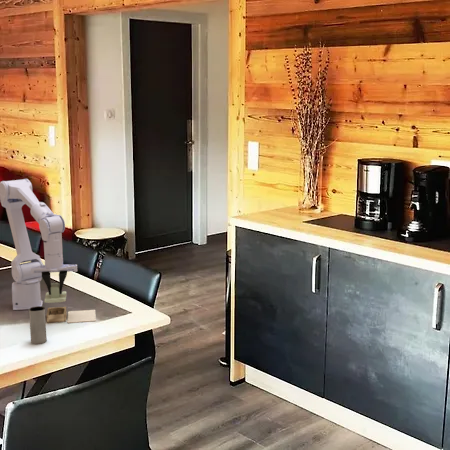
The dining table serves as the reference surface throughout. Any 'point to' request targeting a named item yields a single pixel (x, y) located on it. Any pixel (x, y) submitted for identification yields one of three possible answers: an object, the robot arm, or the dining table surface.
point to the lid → (55, 294)
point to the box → (56, 314)
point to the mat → (81, 316)
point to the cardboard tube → (37, 325)
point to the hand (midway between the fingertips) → (55, 293)
